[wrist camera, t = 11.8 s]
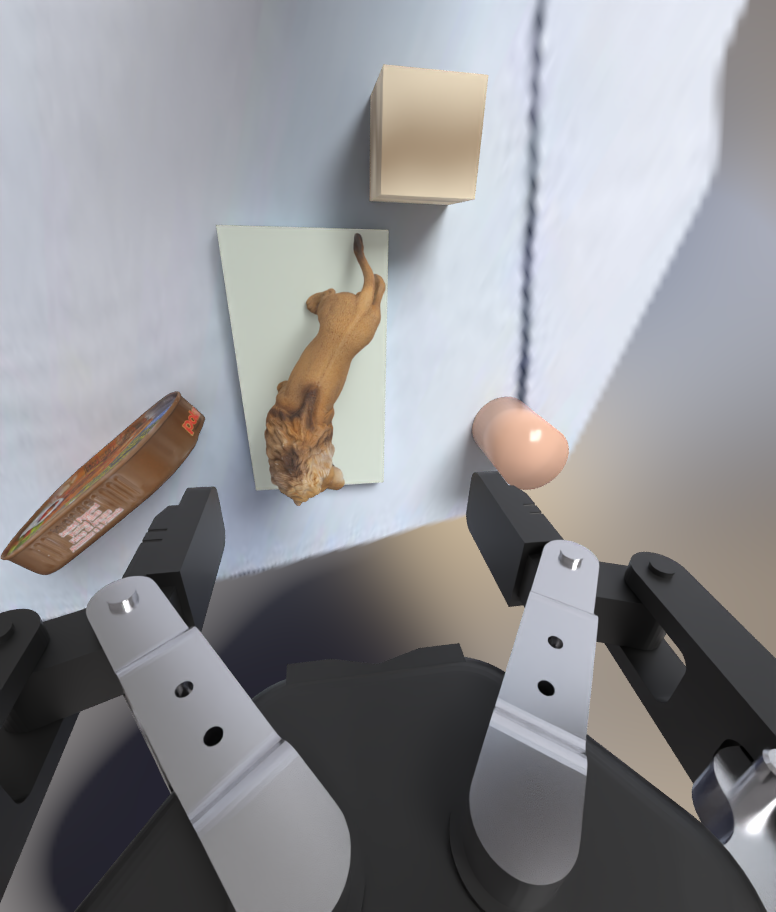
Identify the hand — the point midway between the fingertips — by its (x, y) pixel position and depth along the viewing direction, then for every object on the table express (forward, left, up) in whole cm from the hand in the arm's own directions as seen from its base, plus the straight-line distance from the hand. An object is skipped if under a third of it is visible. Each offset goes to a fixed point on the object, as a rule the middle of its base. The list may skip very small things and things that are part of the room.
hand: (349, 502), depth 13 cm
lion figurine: (0, 0, -18) cm, 18 cm away
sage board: (+1, -1, -19) cm, 19 cm away
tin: (+7, -15, -19) cm, 25 cm away
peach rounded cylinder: (+6, +14, -19) cm, 24 cm away
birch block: (-12, +5, -19) cm, 23 cm away
